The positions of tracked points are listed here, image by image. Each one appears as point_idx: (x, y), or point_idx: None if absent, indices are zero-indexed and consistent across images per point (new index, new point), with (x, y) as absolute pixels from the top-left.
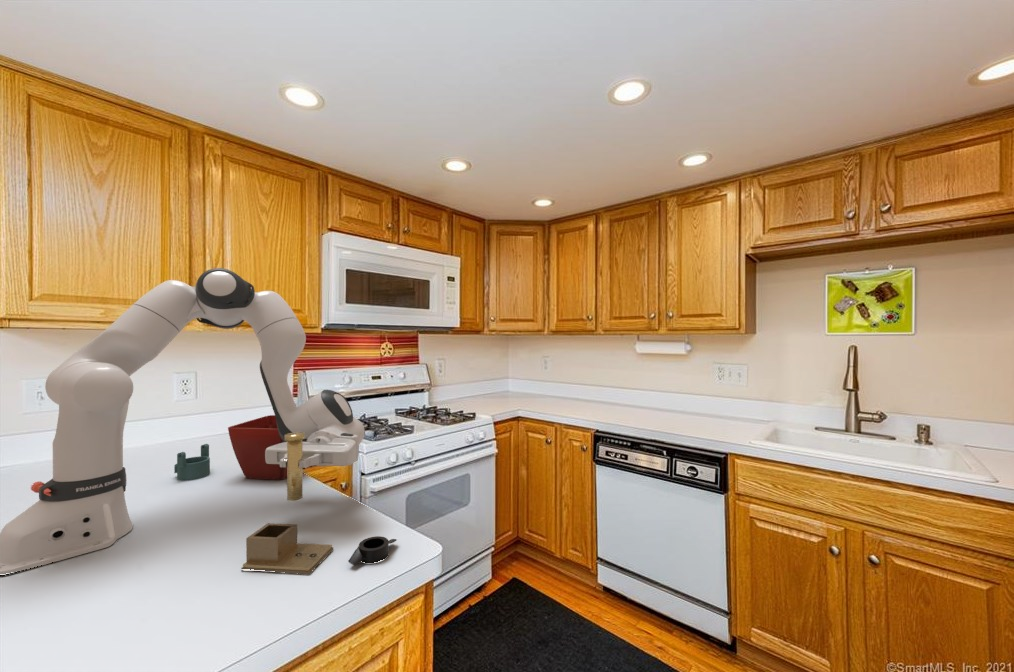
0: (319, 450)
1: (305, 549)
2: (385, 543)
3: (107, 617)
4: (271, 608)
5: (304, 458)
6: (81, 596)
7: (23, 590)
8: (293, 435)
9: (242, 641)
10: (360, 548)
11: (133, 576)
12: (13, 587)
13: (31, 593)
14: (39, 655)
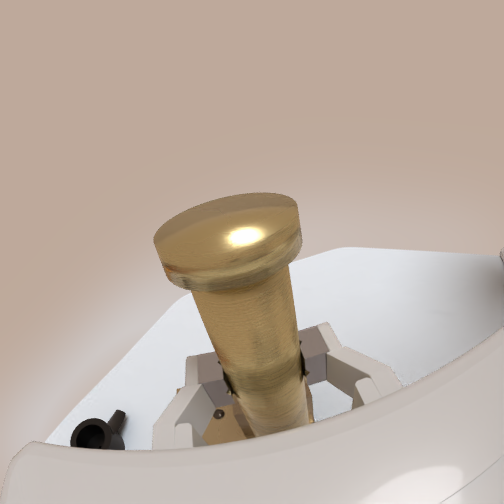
0: (157, 451)
1: (218, 431)
2: (73, 438)
3: (344, 278)
4: (188, 337)
5: (211, 373)
6: (411, 275)
7: (462, 258)
8: (211, 209)
9: (186, 307)
10: (105, 422)
11: (418, 304)
12: (473, 255)
13: (451, 259)
14: (333, 253)
